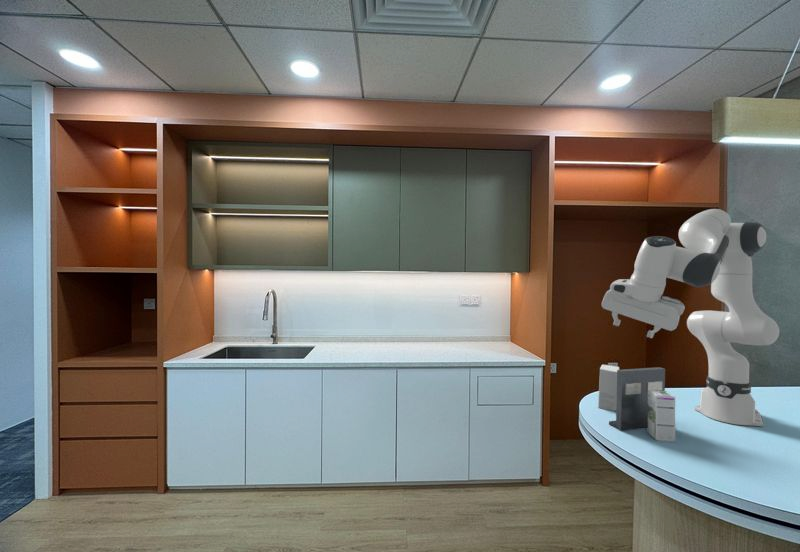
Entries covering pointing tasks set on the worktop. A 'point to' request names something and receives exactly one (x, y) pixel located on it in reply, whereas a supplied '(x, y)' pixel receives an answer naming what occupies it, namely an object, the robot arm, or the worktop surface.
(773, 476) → the worktop surface
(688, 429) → the worktop surface
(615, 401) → the skincare box
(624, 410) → the label panel
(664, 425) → the syrup box
